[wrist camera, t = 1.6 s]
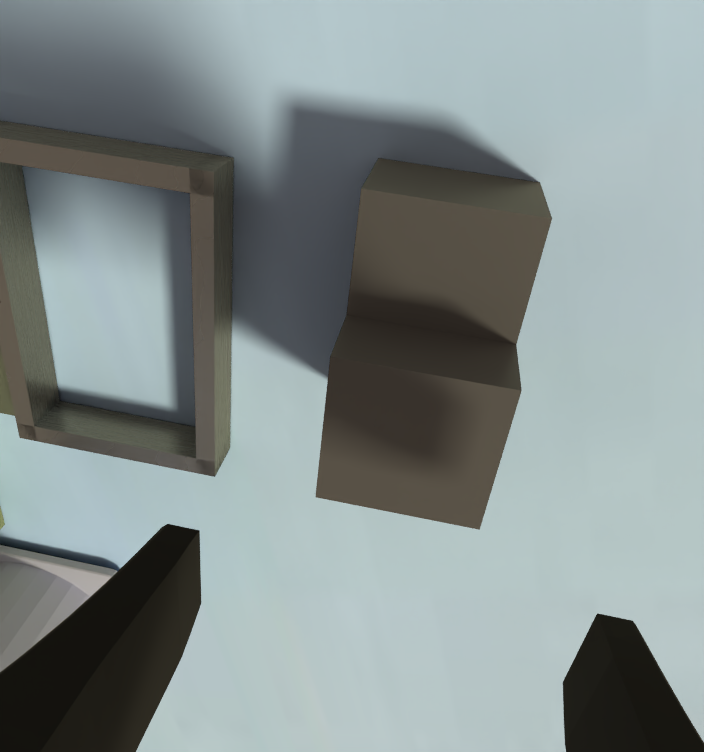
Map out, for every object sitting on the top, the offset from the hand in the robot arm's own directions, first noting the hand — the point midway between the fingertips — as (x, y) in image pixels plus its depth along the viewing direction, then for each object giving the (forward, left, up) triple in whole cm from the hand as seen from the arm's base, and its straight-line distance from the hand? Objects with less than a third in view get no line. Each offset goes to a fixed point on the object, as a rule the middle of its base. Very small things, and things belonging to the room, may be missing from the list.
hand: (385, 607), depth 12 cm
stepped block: (+2, 0, -9) cm, 9 cm away
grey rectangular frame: (0, +10, -9) cm, 13 cm away
